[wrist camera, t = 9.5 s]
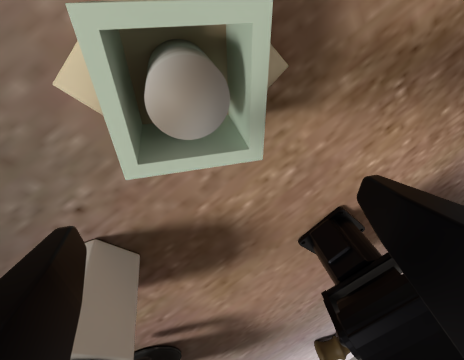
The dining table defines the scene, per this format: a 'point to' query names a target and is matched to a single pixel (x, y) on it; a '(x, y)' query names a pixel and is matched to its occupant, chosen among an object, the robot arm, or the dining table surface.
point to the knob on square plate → (170, 77)
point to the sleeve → (123, 97)
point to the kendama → (331, 349)
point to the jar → (108, 304)
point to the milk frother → (158, 354)
